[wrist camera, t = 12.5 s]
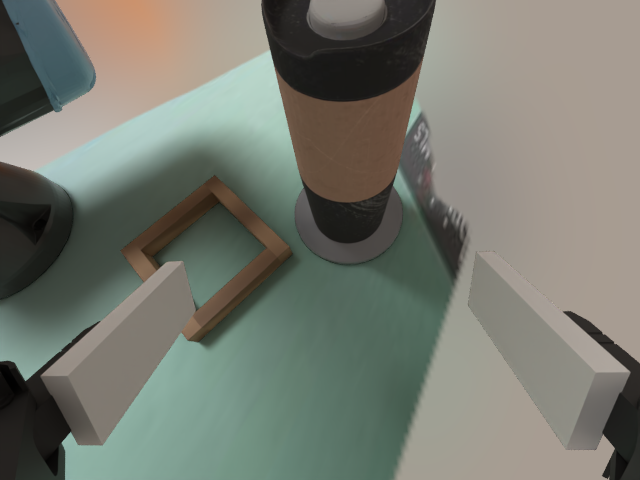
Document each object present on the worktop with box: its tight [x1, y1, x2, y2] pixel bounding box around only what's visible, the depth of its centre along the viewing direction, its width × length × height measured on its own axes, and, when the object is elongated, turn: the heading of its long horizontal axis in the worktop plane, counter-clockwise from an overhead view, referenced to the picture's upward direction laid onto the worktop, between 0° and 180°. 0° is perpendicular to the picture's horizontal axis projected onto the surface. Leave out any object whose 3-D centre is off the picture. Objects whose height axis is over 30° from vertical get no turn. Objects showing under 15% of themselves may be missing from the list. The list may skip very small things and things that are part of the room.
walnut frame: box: [120, 175, 293, 342], centre depth 31 cm, size 12×12×2 cm
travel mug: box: [261, 0, 436, 244], centre depth 22 cm, size 8×8×20 cm
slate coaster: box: [295, 186, 403, 265], centre depth 32 cm, size 11×11×1 cm
